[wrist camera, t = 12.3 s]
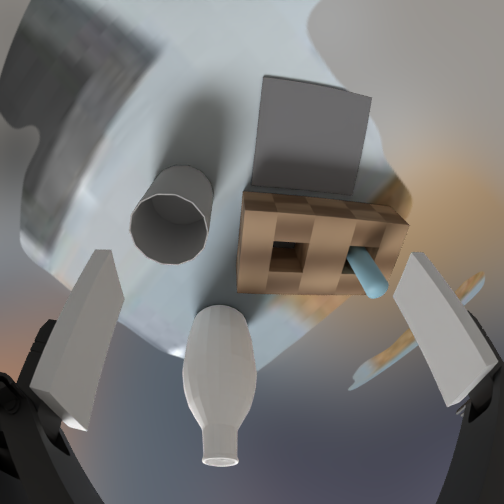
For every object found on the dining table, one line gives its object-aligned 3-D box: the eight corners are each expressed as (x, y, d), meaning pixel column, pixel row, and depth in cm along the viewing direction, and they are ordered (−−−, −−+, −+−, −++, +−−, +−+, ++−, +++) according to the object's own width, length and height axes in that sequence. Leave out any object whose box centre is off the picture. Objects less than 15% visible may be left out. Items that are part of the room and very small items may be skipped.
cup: (197, 154, 35) (186, 180, 26) (223, 209, 39) (221, 249, 31) (140, 181, 36) (115, 214, 28) (168, 231, 40) (153, 274, 32)
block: (242, 191, 38) (244, 210, 33) (390, 206, 40) (409, 225, 35) (236, 266, 44) (237, 292, 39) (368, 271, 47) (382, 294, 42)
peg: (339, 228, 42) (371, 278, 32) (357, 230, 42) (391, 279, 32) (334, 246, 43) (362, 298, 33) (352, 247, 44) (383, 298, 34)
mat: (263, 77, 30) (263, 77, 30) (370, 97, 32) (371, 97, 31) (251, 184, 37) (251, 185, 37) (351, 194, 39) (352, 195, 39)
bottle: (190, 341, 53) (181, 470, 32) (185, 297, 47) (168, 447, 26) (250, 342, 54) (261, 471, 32) (254, 298, 48) (270, 448, 27)
